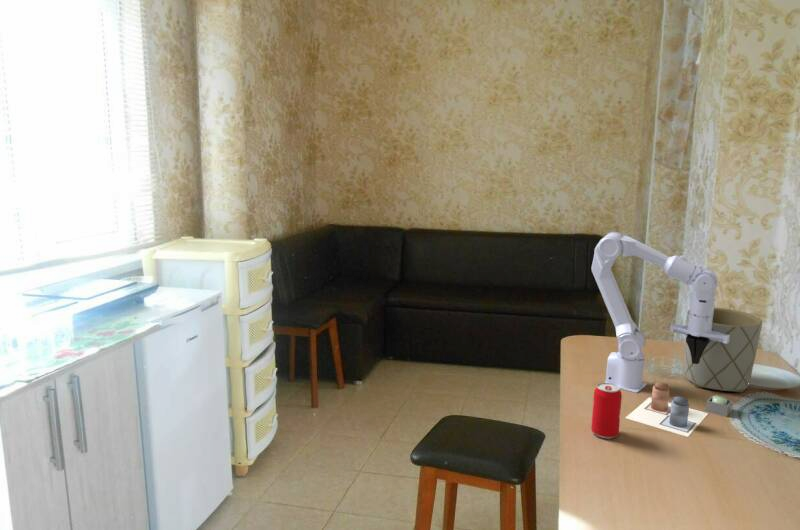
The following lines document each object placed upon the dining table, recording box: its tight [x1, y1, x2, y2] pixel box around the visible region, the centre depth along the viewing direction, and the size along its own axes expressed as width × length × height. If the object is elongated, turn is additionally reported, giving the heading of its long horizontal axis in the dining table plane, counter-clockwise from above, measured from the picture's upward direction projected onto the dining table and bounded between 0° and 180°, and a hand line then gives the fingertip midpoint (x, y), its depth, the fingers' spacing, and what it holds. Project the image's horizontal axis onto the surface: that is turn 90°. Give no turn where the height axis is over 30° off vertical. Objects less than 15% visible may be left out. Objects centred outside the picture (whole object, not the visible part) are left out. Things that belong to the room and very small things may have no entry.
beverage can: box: [590, 382, 623, 439], centre depth 147 cm, size 6×6×12 cm
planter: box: [683, 307, 763, 393], centre depth 179 cm, size 19×19×20 cm
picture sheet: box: [625, 397, 709, 438], centre depth 158 cm, size 15×17×1 cm
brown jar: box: [651, 381, 670, 411], centre depth 162 cm, size 4×4×6 cm
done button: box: [712, 395, 728, 405], centre depth 161 cm, size 3×3×3 cm
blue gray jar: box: [669, 396, 690, 428], centre depth 153 cm, size 4×4×6 cm
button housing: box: [704, 394, 734, 418], centre depth 161 cm, size 5×5×3 cm
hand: (695, 362), depth 168 cm, fingers closed
